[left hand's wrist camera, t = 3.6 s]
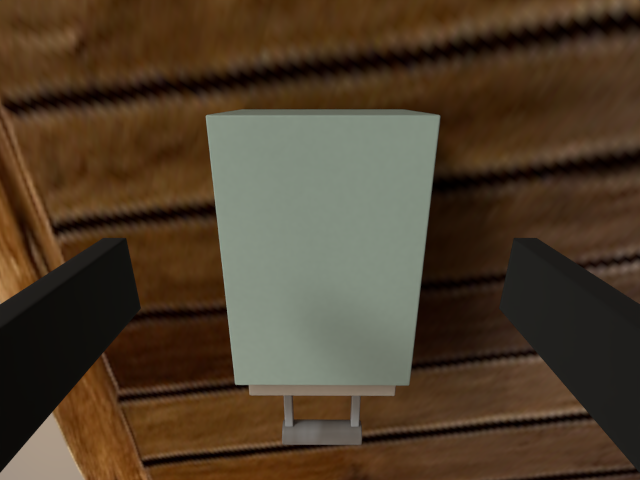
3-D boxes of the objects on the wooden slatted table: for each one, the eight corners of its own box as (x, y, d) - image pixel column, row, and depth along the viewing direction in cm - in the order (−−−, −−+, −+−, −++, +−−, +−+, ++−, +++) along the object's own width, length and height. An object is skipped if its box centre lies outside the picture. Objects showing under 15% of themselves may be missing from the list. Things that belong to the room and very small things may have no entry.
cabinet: (387, 313, 30) (409, 385, 23) (256, 313, 30) (235, 385, 23) (404, 109, 24) (440, 115, 17) (241, 109, 24) (205, 115, 17)
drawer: (376, 394, 32) (388, 458, 26) (267, 393, 32) (255, 458, 26) (394, 158, 24) (416, 176, 19) (251, 157, 25) (229, 176, 19)
